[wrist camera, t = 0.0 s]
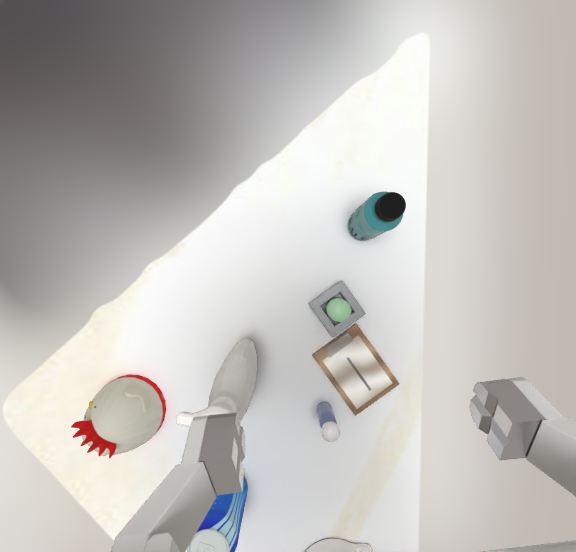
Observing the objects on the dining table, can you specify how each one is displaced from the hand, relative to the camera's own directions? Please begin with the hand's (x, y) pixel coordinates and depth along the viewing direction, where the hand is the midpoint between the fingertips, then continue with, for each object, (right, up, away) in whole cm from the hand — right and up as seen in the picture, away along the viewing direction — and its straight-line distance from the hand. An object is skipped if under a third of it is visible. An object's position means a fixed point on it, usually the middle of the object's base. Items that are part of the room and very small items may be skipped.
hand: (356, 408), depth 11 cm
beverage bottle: (+13, +15, +55) cm, 58 cm away
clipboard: (+11, -15, +54) cm, 57 cm away
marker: (+5, -23, +54) cm, 59 cm away
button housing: (+7, -2, +54) cm, 55 cm away
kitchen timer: (-34, -23, +54) cm, 68 cm away
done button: (+7, -2, +53) cm, 54 cm away
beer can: (-15, -38, +54) cm, 68 cm away
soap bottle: (-12, -14, +54) cm, 57 cm away
